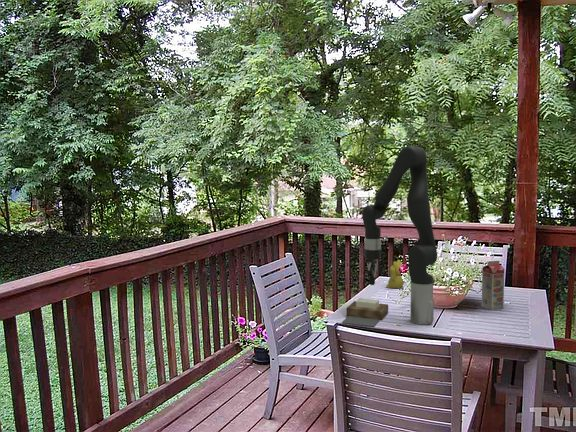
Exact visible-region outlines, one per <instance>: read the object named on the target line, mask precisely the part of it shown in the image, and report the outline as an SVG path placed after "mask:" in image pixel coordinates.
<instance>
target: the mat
mask: <svg viewBox="0 0 576 432" xmlns="http://www.w3.org/2000/svg"><path fill="white" fill-rule="evenodd" d="M379 321H380V320H379V319H371V318H362V317H353V316H348V317H347V316H346V318H345V319H344V320H342V321H341V324H342V323H343V325H350V326H351V325H352V326H358V327H359V326H360V327H367V328H375V327H376V326H377V324H378V323H379Z"/></svg>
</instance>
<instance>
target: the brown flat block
mask: <svg viewBox="0 0 576 432" xmlns="http://www.w3.org/2000/svg"><path fill="white" fill-rule="evenodd" d="M356 301H357V300H354V301H352V302H351V303H350V304H349V305H348V306H347V307H346V309H345V310H346V311H345V312H346V318H347V317H348V316H353V317H362V318H371V319H379V321H383V320H384V319H385V318H386V317H387V315H388V314H389V304H386V303H379V306H378V307H377V308H376V309H371V308H362V307H356Z"/></svg>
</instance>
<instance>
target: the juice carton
mask: <svg viewBox="0 0 576 432" xmlns="http://www.w3.org/2000/svg"><path fill="white" fill-rule="evenodd" d="M486 264H487V265H484V266H483V267H482V271H481V273H482V276H481V277H482V279H481V307H482V308H485V309H487V310H490V311H496V310H503V309H504V299H505V298H504V296H505V295H504V294H505V293H504V292H505V268H504V267H503V266H502V265H501V264H500V260H491V261H487V262H486Z"/></svg>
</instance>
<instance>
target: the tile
mask: <svg viewBox="0 0 576 432" xmlns="http://www.w3.org/2000/svg"><path fill="white" fill-rule="evenodd" d="M355 301H356V307H362V308H371V309H376V308H377V307H378V306H379V304H380V299H374V298H373V299H372V298H364V297H363V298H361V297H360V298H358V299H357V300H355Z"/></svg>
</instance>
